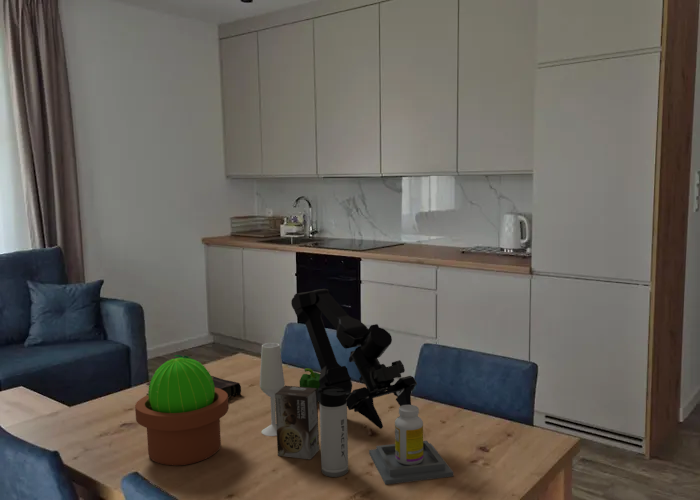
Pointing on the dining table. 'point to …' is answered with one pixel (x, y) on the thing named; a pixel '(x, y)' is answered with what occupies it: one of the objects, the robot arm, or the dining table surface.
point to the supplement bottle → (409, 436)
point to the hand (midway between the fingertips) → (396, 423)
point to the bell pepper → (310, 379)
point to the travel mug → (333, 431)
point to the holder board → (401, 473)
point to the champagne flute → (271, 379)
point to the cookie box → (297, 422)
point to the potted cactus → (182, 413)
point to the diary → (225, 386)
